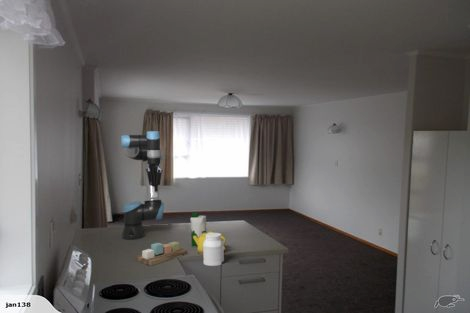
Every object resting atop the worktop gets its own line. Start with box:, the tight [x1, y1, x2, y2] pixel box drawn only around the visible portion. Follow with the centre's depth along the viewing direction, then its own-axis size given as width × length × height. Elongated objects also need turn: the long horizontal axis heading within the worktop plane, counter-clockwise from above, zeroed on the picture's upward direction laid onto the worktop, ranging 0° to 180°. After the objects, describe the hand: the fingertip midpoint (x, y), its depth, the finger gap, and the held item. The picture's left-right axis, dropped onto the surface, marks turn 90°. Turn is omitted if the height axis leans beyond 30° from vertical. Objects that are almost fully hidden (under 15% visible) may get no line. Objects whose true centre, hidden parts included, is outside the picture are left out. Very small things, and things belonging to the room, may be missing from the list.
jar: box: [202, 232, 225, 267], centre depth 197 cm, size 12×10×15 cm
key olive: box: [167, 241, 181, 251], centre depth 214 cm, size 5×5×5 cm
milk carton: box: [190, 212, 207, 247], centre depth 229 cm, size 9×9×20 cm
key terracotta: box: [163, 243, 172, 254], centre depth 210 cm, size 5×5×5 cm
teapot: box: [193, 231, 227, 254], centre depth 216 cm, size 20×12×12 cm, turn 73°
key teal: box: [150, 242, 164, 255], centre depth 205 cm, size 5×5×5 cm
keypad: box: [135, 247, 188, 267], centre depth 207 cm, size 14×25×2 cm, turn 139°
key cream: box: [141, 248, 154, 259], centre depth 200 cm, size 5×5×5 cm
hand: (154, 196), depth 219 cm, fingers closed
